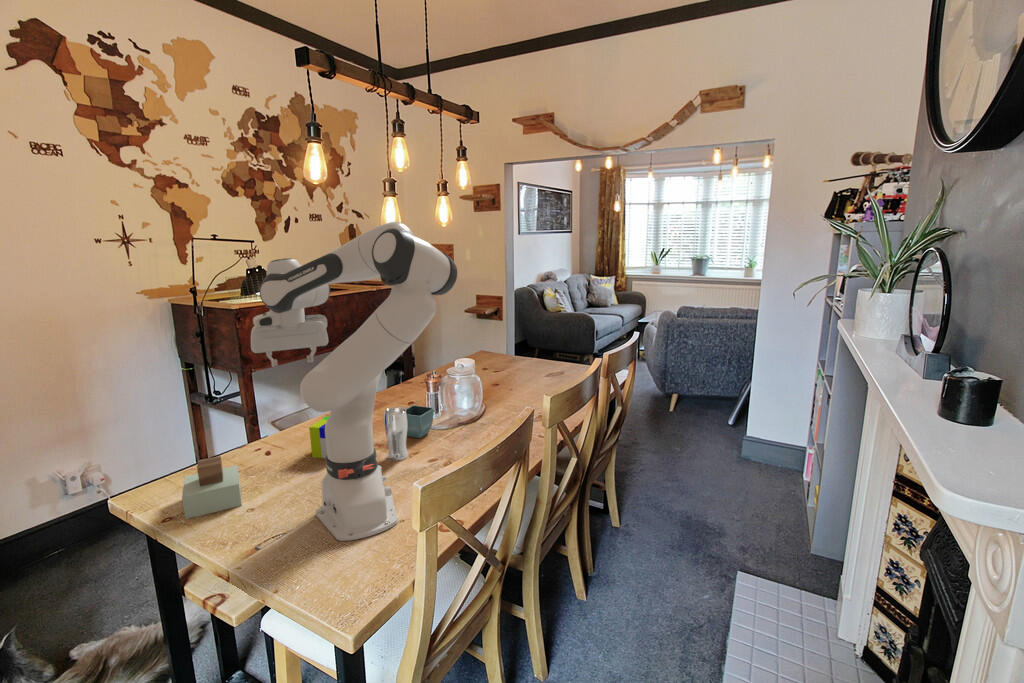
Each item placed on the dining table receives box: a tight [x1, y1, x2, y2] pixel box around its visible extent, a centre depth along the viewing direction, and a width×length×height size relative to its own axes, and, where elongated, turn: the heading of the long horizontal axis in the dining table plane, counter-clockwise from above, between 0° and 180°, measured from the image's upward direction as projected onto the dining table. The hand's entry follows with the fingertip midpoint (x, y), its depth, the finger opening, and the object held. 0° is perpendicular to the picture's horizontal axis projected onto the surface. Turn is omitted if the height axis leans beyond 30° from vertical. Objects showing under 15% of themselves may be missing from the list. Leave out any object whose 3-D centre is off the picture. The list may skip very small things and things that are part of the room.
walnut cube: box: [196, 455, 223, 486], centre depth 125 cm, size 5×5×5 cm
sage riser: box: [181, 464, 243, 520], centre depth 126 cm, size 12×12×6 cm
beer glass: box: [383, 406, 409, 462], centre depth 150 cm, size 7×7×15 cm
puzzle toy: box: [308, 415, 329, 459], centre depth 154 cm, size 10×10×10 cm
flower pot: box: [405, 404, 435, 439], centre depth 167 cm, size 9×9×9 cm
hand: (292, 364), depth 140 cm, fingers open, 8 cm apart
